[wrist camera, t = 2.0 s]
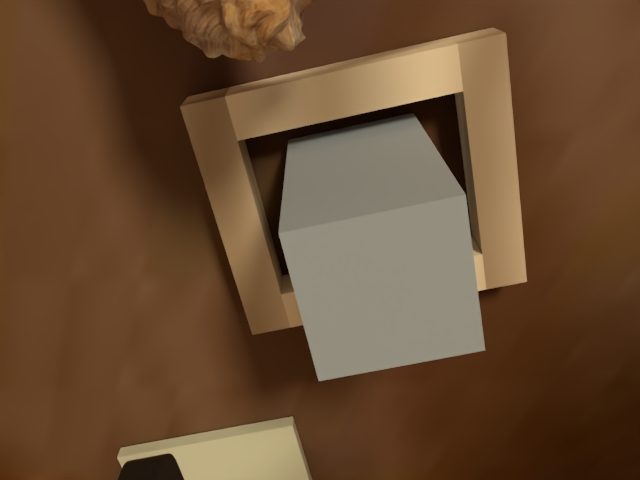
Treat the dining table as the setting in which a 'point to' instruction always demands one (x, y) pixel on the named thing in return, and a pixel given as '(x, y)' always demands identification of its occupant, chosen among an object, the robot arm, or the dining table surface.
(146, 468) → the robot arm
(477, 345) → the block
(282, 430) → the tile
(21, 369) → the dining table surface
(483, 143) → the pocket frame
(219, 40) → the lion figurine
